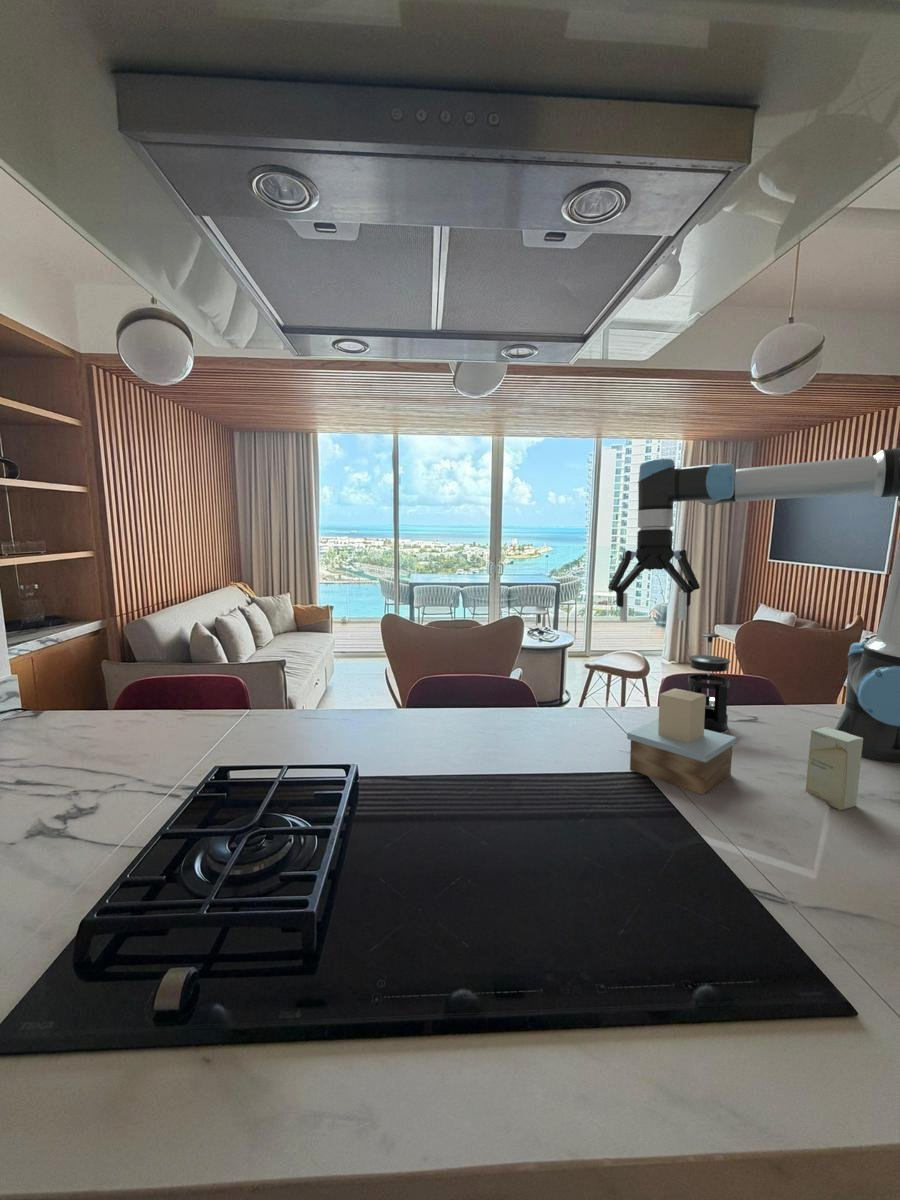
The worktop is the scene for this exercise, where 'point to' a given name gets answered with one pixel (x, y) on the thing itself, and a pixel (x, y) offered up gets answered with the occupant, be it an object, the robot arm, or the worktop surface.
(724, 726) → the french press
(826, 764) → the skincare box
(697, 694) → the lid
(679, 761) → the box
